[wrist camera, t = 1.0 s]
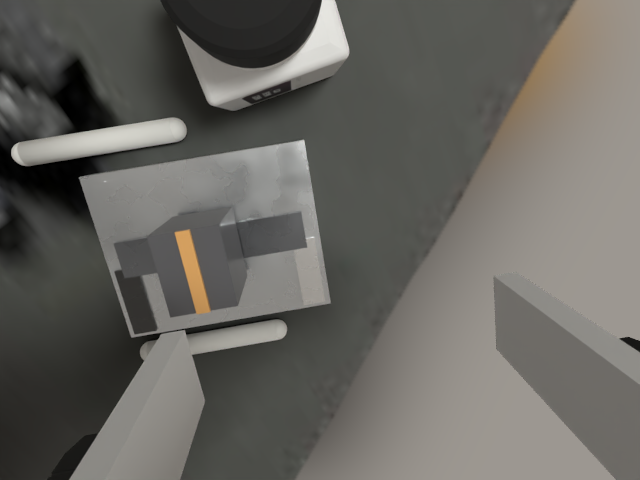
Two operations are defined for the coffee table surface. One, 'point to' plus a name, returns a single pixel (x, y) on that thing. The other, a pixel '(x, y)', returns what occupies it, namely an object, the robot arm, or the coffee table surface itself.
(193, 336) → the rod
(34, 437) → the coffee table surface
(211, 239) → the toggle
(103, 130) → the cord near
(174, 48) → the coffee table surface
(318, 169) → the coffee table surface
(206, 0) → the container
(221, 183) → the panel
